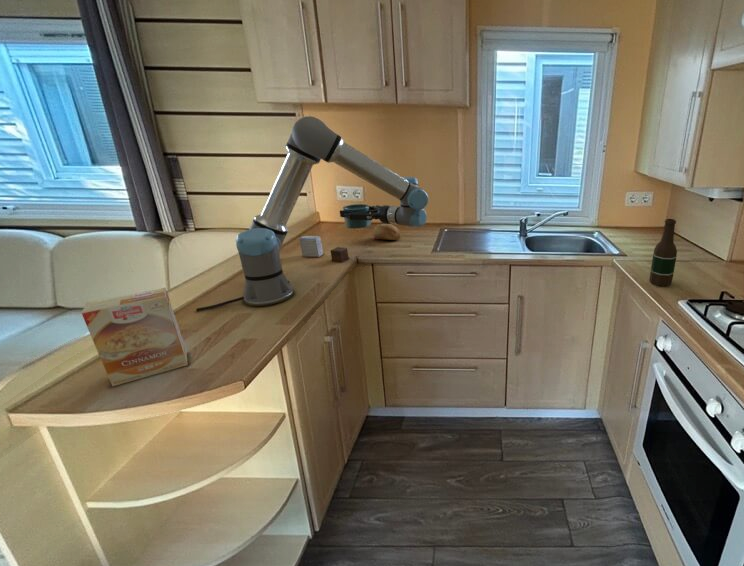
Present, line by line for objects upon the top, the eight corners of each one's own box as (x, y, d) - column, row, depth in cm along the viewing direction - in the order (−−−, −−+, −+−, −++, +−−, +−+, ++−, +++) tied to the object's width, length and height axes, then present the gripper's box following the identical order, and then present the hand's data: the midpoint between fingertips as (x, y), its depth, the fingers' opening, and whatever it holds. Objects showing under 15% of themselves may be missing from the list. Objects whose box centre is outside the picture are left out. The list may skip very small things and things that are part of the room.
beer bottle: (672, 281, 152) (684, 218, 143) (669, 288, 145) (681, 223, 136) (651, 277, 155) (660, 216, 146) (647, 284, 149) (657, 220, 140)
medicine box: (323, 254, 186) (320, 235, 182) (319, 257, 182) (315, 238, 178) (307, 253, 186) (304, 235, 183) (302, 256, 182) (298, 238, 179)
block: (330, 250, 175) (332, 261, 177) (339, 251, 173) (341, 262, 175) (337, 246, 179) (339, 257, 181) (347, 247, 178) (348, 258, 179)
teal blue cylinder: (349, 229, 170) (346, 210, 167) (342, 224, 179) (340, 206, 176) (374, 226, 175) (372, 207, 172) (367, 221, 184) (364, 203, 181)
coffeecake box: (111, 387, 95) (79, 313, 87) (114, 373, 100) (85, 301, 93) (188, 365, 103) (165, 295, 95) (187, 353, 108) (165, 286, 101)
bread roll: (395, 243, 201) (394, 227, 198) (369, 240, 205) (367, 225, 202) (404, 238, 209) (403, 223, 206) (379, 235, 213) (377, 221, 210)
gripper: (374, 230, 159) (331, 225, 167) (408, 217, 179) (369, 213, 187) (371, 211, 156) (328, 207, 165) (407, 200, 176) (367, 197, 184)
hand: (350, 210), depth 176 cm, fingers closed on teal blue cylinder, 11 cm apart
